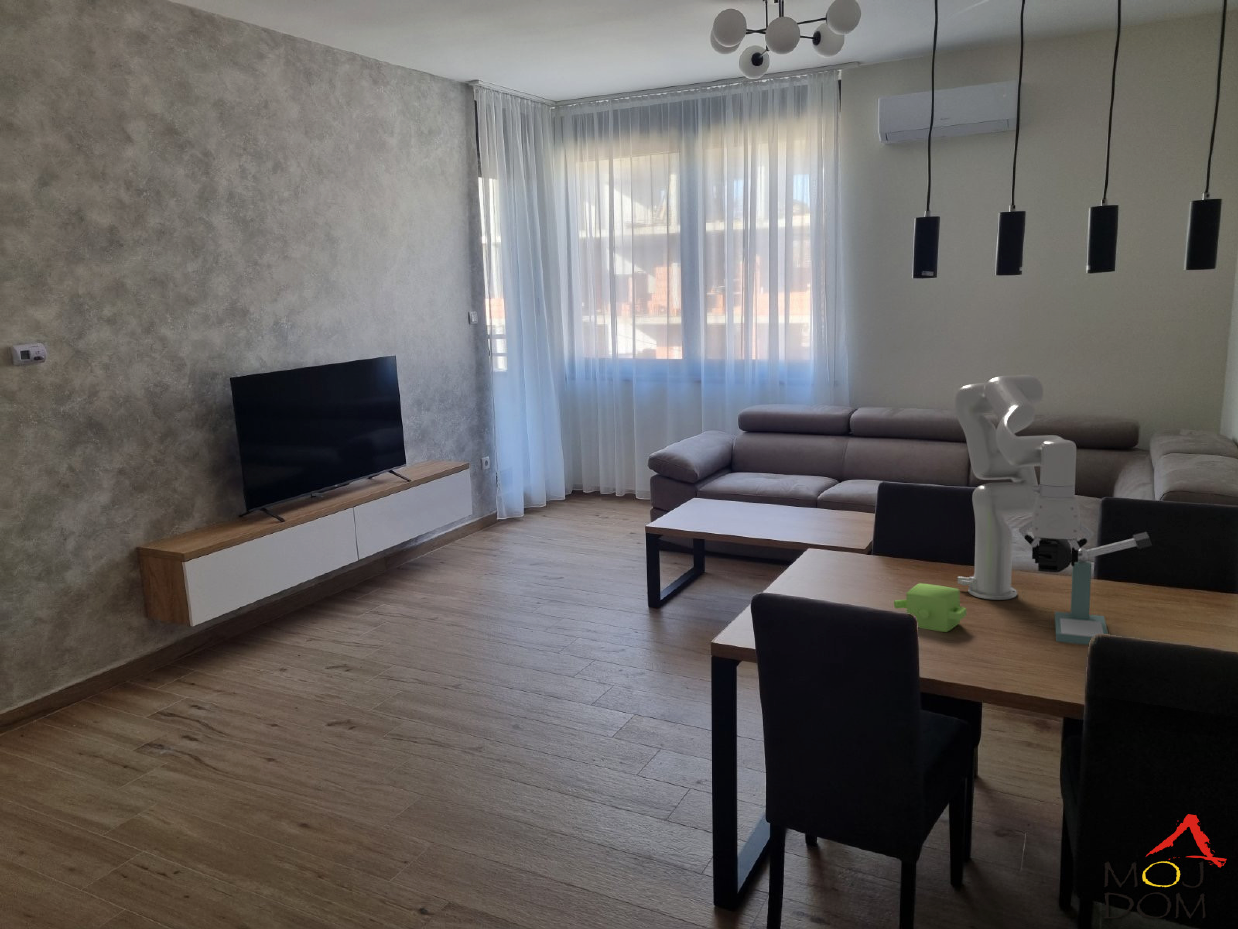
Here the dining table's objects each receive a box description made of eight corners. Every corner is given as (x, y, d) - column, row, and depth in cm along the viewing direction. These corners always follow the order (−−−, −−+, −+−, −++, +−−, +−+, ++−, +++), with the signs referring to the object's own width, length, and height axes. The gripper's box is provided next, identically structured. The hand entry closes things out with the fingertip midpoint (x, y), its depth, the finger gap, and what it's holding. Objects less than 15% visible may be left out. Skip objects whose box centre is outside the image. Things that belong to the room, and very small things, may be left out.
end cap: (1071, 574, 207) (1072, 546, 206) (1038, 571, 210) (1038, 544, 209) (1070, 563, 216) (1071, 536, 215) (1038, 561, 219) (1039, 534, 218)
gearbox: (887, 625, 228) (885, 590, 226) (903, 613, 235) (902, 579, 233) (956, 638, 216) (955, 601, 214) (971, 625, 223) (970, 589, 221)
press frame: (1056, 641, 211) (1058, 577, 208) (1054, 619, 226) (1057, 558, 223) (1108, 646, 206) (1111, 581, 203) (1103, 623, 221) (1106, 561, 219)
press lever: (1078, 565, 216) (1074, 554, 216) (1077, 559, 222) (1073, 548, 222) (1152, 547, 209) (1148, 535, 209) (1149, 541, 214) (1145, 529, 214)
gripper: (1016, 492, 211) (1014, 564, 214) (1098, 496, 203) (1095, 570, 206) (1018, 487, 217) (1016, 556, 220) (1098, 490, 210) (1095, 562, 212)
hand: (1054, 562), depth 213 cm, fingers closed on end cap, 7 cm apart
